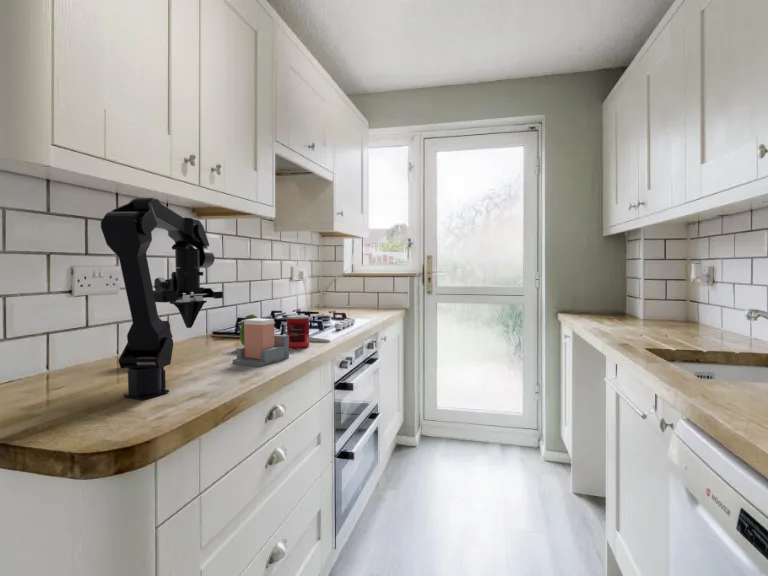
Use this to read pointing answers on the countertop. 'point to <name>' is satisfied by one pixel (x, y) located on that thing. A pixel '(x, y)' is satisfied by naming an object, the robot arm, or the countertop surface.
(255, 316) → the avocado
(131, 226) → the robot arm
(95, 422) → the countertop surface
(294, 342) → the canned food
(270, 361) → the housing
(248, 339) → the pink white rectangular block
